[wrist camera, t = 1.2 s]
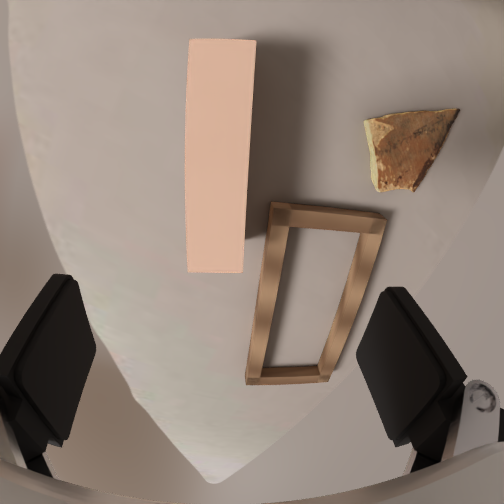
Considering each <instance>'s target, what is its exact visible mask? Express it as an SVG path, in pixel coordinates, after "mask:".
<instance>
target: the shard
mask: <svg viewBox="0 0 504 504" xmlns="http://www.w3.org/2000/svg"><path fill="white" fill-rule="evenodd" d="M459 111H460V109H446V110H440V111H417V112H404V113H396V114H389V115H385V116H383V117H380V118H372V119H367V120H365V121H364V126H365V130H366V135H367V141H368V146H369V151H370V168H371V179H372V182H373V184H374V186H375V189H376V190H377V191H378V192H385V191H389V190H395V189H409V190H411V191H412V192H415V190H416V189H417V187H418V186H419V184H420V182H421V181H422V180H423V178H424V177H425V175H426V172H427V170H428V169H429V168H430V167H431V165H432V163H433V162H434V159H435V158H436V156H437V155H438V153H439V151H440V149H441V147H442V146H443V143H444V142H445V140H446V137H447V135H448V133H449V130H450V128H451V126H452V124H453V122H454V120H455V119H456V118H457V115H458V113H459Z"/></svg>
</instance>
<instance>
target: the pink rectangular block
mask: <svg viewBox="0 0 504 504" xmlns="http://www.w3.org/2000/svg"><path fill="white" fill-rule="evenodd" d="M255 54H256V40H241V39H190V40H189V54H188V71H187V91H186V120H185V213H186V244H187V265H188V272H211V273H243V257H244V238H245V219H246V201H247V184H248V166H249V149H250V133H251V116H252V100H253V85H254V69H255Z"/></svg>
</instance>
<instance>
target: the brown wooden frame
mask: <svg viewBox="0 0 504 504" xmlns="http://www.w3.org/2000/svg"><path fill="white" fill-rule="evenodd" d="M386 222H387V219H385V218H384V217H383V216H382V215H381V214H379V213H372V212H365V211H357V210H348V209H340V208H331V207H322V206H313V205H303V204H292V203H282V202H271V205H270V212H269V219H268V226H267V233H266V240H265V247H264V253H263V260H262V267H261V274H260V281H259V287H258V294H257V301H256V307H255V314H254V321H253V327H252V334H251V340H250V347H249V353H248V360H247V366H246V372H245V380H246V385H281V384H304V383H319V382H328V381H329V379H330V376H331V374H332V372H333V370H334V367H335V365H336V363H337V361H338V358H339V356H340V354H341V351H342V349H343V346H344V344H345V342H346V339H347V337H348V334H349V332H350V329H351V327H352V324H353V321H354V319H355V316H356V314H357V311H358V308H359V306H360V303H361V300H362V297H363V295H364V292H365V289H366V286H367V283H368V280H369V277H370V274H371V271H372V268H373V265H374V262H375V259H376V256H377V252H378V249H379V246H380V243H381V239H382V236H383V232H384V229H385V225H386ZM289 227H300V228H312V229H324V230H336V231H347V232H358V233H360V237H359V240H358V244H357V248H356V251H355V255H354V258H353V262H352V265H351V268H350V272H349V275H348V278H347V282H346V285H345V288H344V291H343V294H342V297H341V301H340V304H339V307H338V310H337V313H336V316H335V318H334V321H333V324H332V327H331V330H330V333H329V336H328V338H327V341H326V344H325V347H324V349H323V352H322V355H321V357H320V360H319V363H318V365H317V366H307V367H271V368H262V366H263V361H264V356H265V352H266V347H267V342H268V337H269V332H270V327H271V322H272V317H273V312H274V307H275V302H276V296H277V291H278V286H279V281H280V275H281V270H282V264H283V259H284V253H285V248H286V242H287V237H288V231H289Z"/></svg>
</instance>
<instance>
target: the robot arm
mask: <svg viewBox="0 0 504 504" xmlns="http://www.w3.org/2000/svg"><path fill="white" fill-rule="evenodd" d="M95 353H96V344H95V341H94V338H93V334H92V332H91V328H90V325H89V321H88V318H87V315H86V311H85V308H84V304H83V300H82V296H81V293H80V289H79V285H78V282H77V281H76V280H74V279H73V277H72V276H71V275H65V274H53V275H52V276H51V278H50V279H49V280H48V282H47V283H46V285H45V286H44V287H43V289H42V290H41V291H40V293H39V294H38V296H37V297H36V299H35V300H34V302H33V303H32V305H31V306H30V308H29V309H28V310H27V312H26V313H25V315H24V316H23V318H22V320H21V321H20V323H19V324H18V326H17V327H16V329H15V331H14V332H13V334H12V335H11V337H10V339H9V340H8V342H7V344H6V346H5V347H4V349H3V351H2V352H1V354H0V504H185V503H171V502H162V501H154V500H146V499H139V498H133V497H127V496H122V495H116V494H112V493H107V492H102V491H98V490H94V489H90V488H86V487H82V486H78V485H75V484H71V483H68V482H64V481H61V480H59V478H58V476H57V474H56V472H55V470H54V468H53V466H52V464H51V462H50V460H49V458H48V455H47V453H46V447H47V444H51V445H54V446H58V447H62V445H63V441H64V440H67V439H68V437H69V435H70V431H71V428H72V424H73V421H74V417H75V413H76V411H77V407H78V404H79V401H80V398H81V394H82V391H83V388H84V385H85V382H86V379H87V376H88V373H89V371H90V368H91V365H92V362H93V359H94V356H95ZM356 358H357V362H358V364H359V366H360V369H361V371H362V373H363V376H364V378H365V380H366V383H367V385H368V388H369V390H370V392H371V395H372V398H373V400H374V403H375V405H376V408H377V410H378V413H379V415H380V418H381V420H382V423H383V425H384V428H385V431H386V433H387V436H388V438H389V439H390V440H393V442H394V445H395V447H398V446H402V445H405V444H408V443H410V442H411V443H412V446H413V448H412V451H411V454H410V457H409V460H408V462H407V465H406V468H405V470H404V473H403V476H401V477H398V478H395V479H392V480H388V481H385V482H382V483H378V484H375V485H371V486H367V487H363V488H359V489H355V490H351V491H346V492H342V493H337V494H332V495H326V496H321V497H315V498H309V499H302V500H294V501H286V502H276V503H263V504H504V409H502V408H500V401H499V397H498V395H497V392H496V391H495V390H494V388H493V387H492V386H491V385H489V384H488V383H486V382H484V381H481V380H472V381H470V382H469V383H468V384H467V385H466V386H465V385H464V384H463V382H464V381H465V379H466V378H467V375H466V374H465V372H464V370H463V369H462V367H461V366H460V364H459V363H458V361H457V360H456V358H455V357H454V355H453V354H452V352H451V351H450V349H449V348H448V346H447V345H446V343H445V342H444V340H443V339H442V337H441V336H440V335H439V333H438V332H437V330H436V329H435V328H434V326H433V325H432V323H431V322H430V321H429V319H428V318H427V316H426V315H425V314H424V312H423V311H422V310H421V308H420V307H419V306H418V304H417V303H416V302H415V300H414V299H413V298H412V296H411V295H410V294H409V292H408V291H407V290H406V289H405V288H404V287H387V288H386V289H385V290H384V291H383V292H381V294H380V296H379V298H378V301H377V303H376V306H375V308H374V311H373V313H372V316H371V318H370V321H369V323H368V326H367V328H366V330H365V333H364V335H363V337H362V340H361V342H360V344H359V346H358V349H357V352H356Z"/></svg>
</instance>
